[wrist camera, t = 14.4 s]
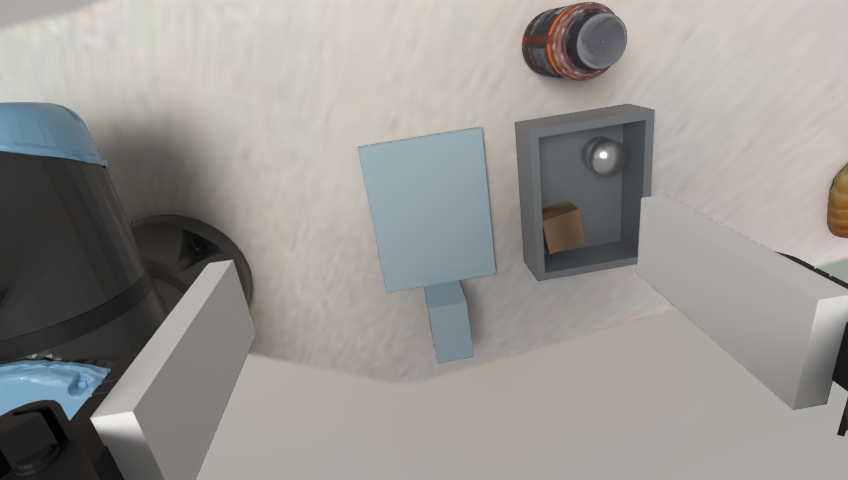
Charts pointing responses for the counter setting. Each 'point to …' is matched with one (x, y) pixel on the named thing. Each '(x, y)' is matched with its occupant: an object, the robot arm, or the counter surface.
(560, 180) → the tub
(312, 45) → the counter surface
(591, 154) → the ball
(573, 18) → the supplement bottle
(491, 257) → the lid
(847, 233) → the pastry
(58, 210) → the robot arm
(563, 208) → the walnut block
